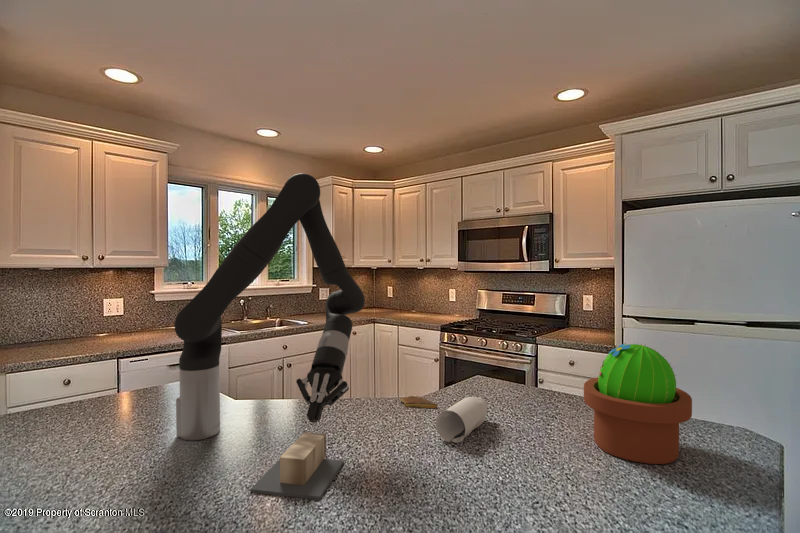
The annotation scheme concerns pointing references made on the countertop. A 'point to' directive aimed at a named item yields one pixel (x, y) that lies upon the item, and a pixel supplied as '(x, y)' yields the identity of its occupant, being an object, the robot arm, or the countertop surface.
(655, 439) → the potted cactus
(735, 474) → the countertop surface
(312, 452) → the maple block
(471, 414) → the hollow grey tube
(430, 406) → the shard
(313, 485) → the mat
